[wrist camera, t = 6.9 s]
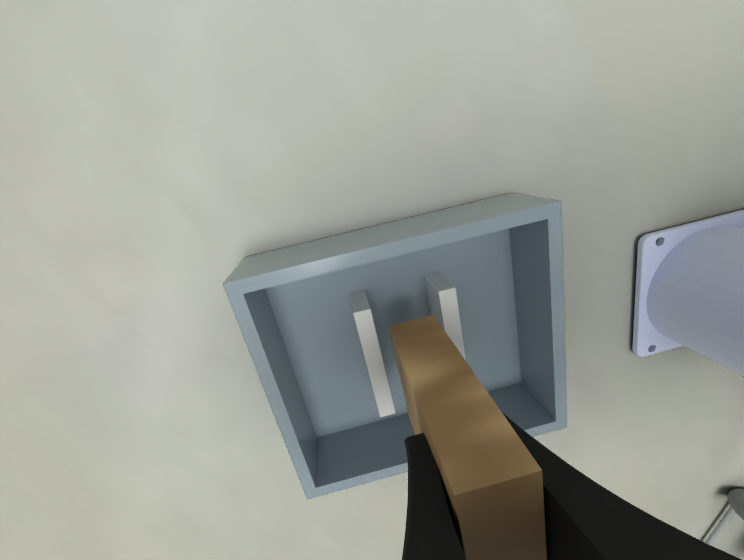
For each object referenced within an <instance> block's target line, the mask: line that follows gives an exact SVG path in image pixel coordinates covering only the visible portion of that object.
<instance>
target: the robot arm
mask: <svg viewBox="0 0 744 560" xmlns="http://www.w3.org/2000/svg"><path fill="white" fill-rule="evenodd" d="M657 239H658V241H657V242H656V240H657ZM682 346H685V347H687V348H689V349H691V350H693V351H695V352H696V353H698V354H700V355H702V356H704V357H706V358H708V359H710V360H712V361H714V362H716V363H718V364H720V365H722V366H724V367H726V368H727V369H729V370H731V371H733V372H735V373H737V374H739V375H741V376H743V377H744V209H743V210H739V211H735V212H731V213H727V214H723V215H719V216H716V217H712V218H708V219H704V220H700V221H696V222H692V223H688V224H684V225H680V226H676V227H672V228H668V229H664V230H660V231H656V232H652V233H648V234H645V235H643V236H642V237H641V238H640V240H639V242H638V254H637V273H636V292H635V311H634V330H633V353H634V354H636V355H637V356H639V357H645V356H648V355H652V354H656V353H659V352H663V351H667V350H670V349H674V348H678V347H682ZM503 415H504V416H505V418H506V419H507V421H508V422H509V423H510V425H511V426H512V428H513V429H514V431H515V432H516V433H517V435H518V436H519V438H520V439H521V441H522V442H523V443H524V445H525V446H526V448H527V449H528V451H529V452H530V454H531V455H532V456H533V458H534V459H535V461H536V462H537V464H538V465H539V466H540V468H541V469H542V476H543V495H544V514H545V534H546V553H547V560H741V559H739V558H737V557H735V556H732V555H730V554H728V553H726V552H724V551H722V550H719V549H717V548H715V547H713V546H711V545H708V544H706V543H704V542H702V541H700V540H698V539H696V538H694V537H692V536H690V535H688V534H686V533H684V532H682V531H680V530H678V529H677V528H675V527H673V526H671V525H669V524H667V523H665V522H663V521H661V520H659V519H657V518H655V517H653V516H651V515H650V514H648V513H646V512H644V511H643V510H641V509H639V508H637V507H635V506H634V505H632V504H630V503H628V502H627V501H625V500H623V499H622V498H620V497H618V496H617V495H615V494H613V493H612V492H610V491H608V490H607V489H605V488H604V487H602V486H601V485H599V484H597V483H596V482H594V481H593V480H591V479H590V478H588V477H587V476H585V475H584V474H582V473H581V472H579V471H578V470H576V469H575V468H574V467H572V466H571V465H569V464H568V463H566V462H565V461H564V460H562V459H561V458H560V457H558V456H557V455H556V454H554V453H553V452H551V451H550V450H549V449H547V448H546V447H545V446H543V445H542V444H541V443H540V442H538V441H537V440H536V439H534V438H533V437H532V436H531V435H529V434H528V433H527V432H526V431H524V430H523V429H522V428H521V427H519V426H518V425H517V424H516V423H515V422H513V421H512V420H511V419H510V418H509V417H507V416H506V415H505V414H504V413H503ZM404 442H405V446H406V452H407V461H408V506H407V518H406V531H405V540H404V548H403V556H402V560H466V557H465V555H464V552H463V549H462V547H461V544H460V542H459V539H458V536H457V534H456V531H455V528H454V526H453V522H452V519H451V516H450V513H449V510H448V506H447V502H446V498H445V494H444V491H443V487H442V483H441V479H440V476H439V472H438V468H437V464H436V461H435V458H434V456H433V453H432V451H431V448H430V446H429V444H428V441H427V439H426V437H425V434H424V433H420V434H417V435H413V436H409V437H407V438H406V439H405V440H404Z"/></svg>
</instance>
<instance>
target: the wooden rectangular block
mask: <svg viewBox="0 0 744 560" xmlns="http://www.w3.org/2000/svg"><path fill="white" fill-rule="evenodd" d="M389 330H390V334H391V339H392V343H393V348H394V352H395V356H396V361H397V365H398V370H399V374H400V379H401V383H402V388H403V392H404V397H405V401H406V406H407V410H408V414H409V418H410V421H411V424H412V427H413V430H414V433H415V435H417V434H420V433H424V434H425V437H426V439H427V441H428V444H429V446H430V448H431V451H432V453H433V456H434V458H435V461H436V464H437V468H438V472H439V476H440V479H441V483H442V487H443V491H444V494H445V498H446V502H447V506H448V510H449V513H450V516H451V519H452V522H453V526H454V528H455V531H456V534H457V536H458V539H459V542H460V544H461V547H462V549H463V552H464V555H465V557H466V560H547V553H546V534H545V514H544V495H543V476H542V469H541V468H540V466H539V465H538V464H537V462H536V461H535V459H534V458H533V456H532V455H531V454H530V452H529V451H528V449H527V448H526V446H525V445H524V443H523V442H522V441H521V439H520V438H519V436H518V435H517V433H516V432H515V431H514V429H513V428H512V426H511V425H510V423H509V422H508V421H507V419H506V418H505V416H504V415H503V413H502V412H501V410H500V409H499V408H498V406H497V405H496V403H495V402H494V400H493V399H492V398H491V396H490V395H489V393H488V392H487V390H486V389H485V388H484V386H483V385H482V383H481V382H480V380H479V379H478V378H477V376H476V375H475V373H474V372H473V370H472V369H471V367H470V366H469V365H468V363H467V362H466V360H465V359H464V357H463V356H462V355H461V353H460V352H459V350H458V349H457V347H456V346H455V345H454V343H453V342H452V340H451V339H450V337H449V336H448V334H447V333H446V332H445V330H444V329H443V327H442V326H441V324H440V323H439V322H438V320H437V319H436V317H435V316H434V314H432V315H428V316H424V317H421V318H417V319H413V320H409V321H405V322H401V323H397V324H394V325H390V326H389Z"/></svg>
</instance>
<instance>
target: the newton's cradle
mask: <svg viewBox="0 0 744 560" xmlns="http://www.w3.org/2000/svg"><path fill="white" fill-rule="evenodd" d="M727 498H728V501H729V504H730V505H731V506H730V508H729V509H728V511H727V512H726V513H725V515H724V516H723V518H722V519H721V520H720V522H719V523H718V525H717V526H716V527H715V529H714V530H713V532H712V533H711V534H710V536H709V537H708V539H707V540H706V541H705V543H706V544H708V545H712V544H713V543H714V541H715V540H716V539H717V537H718V536H719V534H720V533H721V532H722V530H723V529H724V528H725V526H726V525H727V524H728V522H729V521H730V519H731V518H732V517H733V515H734V514H735V513H737V514H738V515H739V516H740V517H741V518H742V519H743V520H744V489H740V488H738V489H731V490H730V491H729V493H728V495H727Z"/></svg>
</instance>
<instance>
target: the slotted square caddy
mask: <svg viewBox="0 0 744 560" xmlns="http://www.w3.org/2000/svg"><path fill="white" fill-rule="evenodd" d="M223 286H224V289H225V291H226V294H227V296H228V299H229V301H230V304H231V307H232V309H233V312H234V314H235V317H236V319H237V322H238V324H239V327H240V329H241V332H242V335H243V337H244V340H245V342H246V345H247V347H248V350H249V352H250V355H251V358H252V360H253V363H254V365H255V368H256V370H257V373H258V375H259V378H260V381H261V383H262V386H263V388H264V391H265V393H266V396H267V398H268V401H269V404H270V406H271V409H272V411H273V414H274V416H275V419H276V421H277V424H278V427H279V429H280V432H281V434H282V437H283V439H284V442H285V444H286V447H287V449H288V452H289V455H290V457H291V460H292V462H293V465H294V467H295V470H296V472H297V475H298V478H299V480H300V483H301V485H302V488H303V490H304V493H305V495H306V498H307V499H311V498H315V497H318V496H322V495H325V494H329V493H333V492H336V491H340V490H343V489H347V488H351V487H354V486H358V485H361V484H365V483H369V482H372V481H376V480H379V479H383V478H387V477H390V476H394V475H397V474H401V473H405V472H408V461H407V452H406V446H405V442H404V440H405V439H406V438H407V437H409V436H413V435H415V433H414V430H413V427H412V424H411V421H410V418H409V414H408V410H407V406H406V401H405V397H404V392H403V388H402V383H401V379H400V374H399V370H398V365H397V361H396V356H395V352H394V348H393V343H392V339H391V334H390V330H389V326H390V325H394V324H397V323H401V322H405V321H409V320H413V319H417V318H421V317H424V316H428V315H432V314H434V316H435V317H436V319H437V320H438V322H439V323H440V324H441V326H442V327H443V329H444V330H445V332H446V333H447V334H448V336H449V337H450V339H451V340H452V342H453V343H454V345H455V346H456V347H457V349H458V350H459V352H460V353H461V355H462V356H463V357H464V359H465V360H466V362H467V363H468V365H469V366H470V367H471V369H472V370H473V372H474V373H475V375H476V376H477V378H478V379H479V380H480V382H481V383H482V385H483V386H484V388H485V389H486V390H487V392H488V393H489V395H490V396H491V398H492V399H493V400H494V402H495V403H496V405H497V406H498V408H499V409H500V410H501V412H502V413H504V414H505V415H506V416H507V417H509V418H510V419H511V420H512V421H513V422H515V423H516V424H517V425H518V426H519V427H521V428H522V429H523V430H524V431H526V432H527V433H528V434H529V435H531V436H532V437H534V436H537V435H541V434H545V433H548V432H552V431H555V430H559V429H563V428H566V427H567V404H566V365H565V326H564V287H563V248H562V209H561V201H558V200H552V199H547V198H541V197H535V196H529V195H523V194H517V193H508V194H504V195H500V196H496V197H492V198H488V199H484V200H479V201H475V202H471V203H467V204H463V205H459V206H455V207H450V208H446V209H442V210H438V211H434V212H430V213H426V214H421V215H417V216H413V217H409V218H405V219H401V220H397V221H392V222H388V223H384V224H380V225H376V226H372V227H368V228H363V229H359V230H355V231H351V232H347V233H343V234H339V235H334V236H330V237H326V238H322V239H318V240H314V241H310V242H305V243H301V244H297V245H293V246H289V247H285V248H281V249H276V250H272V251H268V252H264V253H260V254H256V255H252V256H247V257H244V259H243V260H242V261H241V262H240V263H239V265H238V266H237V267H236V268H235V269H234V271H233V272H232V273H231V274H230V275H229V277H228V278H227V279H226V280H225V282H224V283H223Z"/></svg>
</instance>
